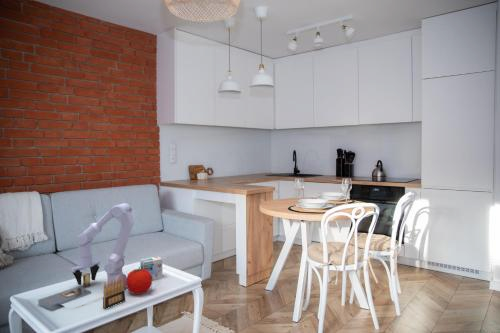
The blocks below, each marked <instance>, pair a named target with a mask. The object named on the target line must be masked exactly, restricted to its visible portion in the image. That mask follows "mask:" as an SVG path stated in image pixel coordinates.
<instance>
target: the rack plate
mask: <svg viewBox="0 0 500 333" xmlns="http://www.w3.org/2000/svg"><path fill="white" fill-rule="evenodd" d="M91 294H92V290H88V289H86V288H85V289H84V288H81V287H78V286H76V287H73V288H70V289H65V290H64V291H61V292H57V293H55V294H51V295H49V296H46V297H43V298H39V299H38V300H37V302H38V303H37V304H38V305H37V306H39V305H40V307H42V308H44V309H45V310H49V311H51V312H53V311H56V310H58V309H61V308H64V307H65V305H63V304H66V303H70V302H72V301H74V300H77V299H80V298H83V297H86V296H89V295H91Z"/></svg>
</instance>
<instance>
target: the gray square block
mask: <svg viewBox="0 0 500 333" xmlns="http://www.w3.org/2000/svg"><path fill="white" fill-rule="evenodd" d="M94 286H95V284H94V283H91V282H90V286H88V287H83V284H81V285H78V286H77V287H79V288H82V289H85V290H86V289H88V288H91V287H94Z"/></svg>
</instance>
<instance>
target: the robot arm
mask: <svg viewBox="0 0 500 333" xmlns="http://www.w3.org/2000/svg"><path fill="white" fill-rule="evenodd" d="M133 211H134V209H133V207H132V205H131V204H130V203H129V202H123V203H119V204H115V205H113V206H112V207H111V208H109V209H108V210H107V212H106V213H105V214H104V215H103V216H102V217H101V218H100V219H99V220H98V221H97V222H93V223H92V222H91V223H90V224H89V227H88V228H87V227H86V229H84V230H83V232H82V233H80V234H78V235H77V236H76V239H75V240H76V243H77V244H78V251H79V252H78V256H79V259H78V260H79V265H76V266H74V267H71V268H70V269H71V270H70V271H71V273H72V274H73V276H74V278H75V281H76V283H77V285H78V286H81V285H82V278H83V272H82V271H83V270H85V269H90V280H91V281H96V277H97V273H98V272H99V269H100V264H101V261H100V260H95V261H93V259H92V253H93V252H92V242H93V240H94V238H95V237H97V235H99V234H100V233H101V232H102V231H103V227H104V226H105V225H106V224H107V223H108V222H109V221H112V219H113V218H115V220H117V221H118V222H119V223H120V225H121V226H120V229H119V231H118V235H117V237H116V241H115V244H114V247H113V250H112V253H111V255H110V256H109V258H108V259H107V262H106V263H105V264H104V267H103V268H104V269H103V270H104V271H105V273H106V276H107V280H106V281H108V280H109V282H110V287H111V279H112V280H113V286H114V279H116V282H117V278H118V277H119V280H120V278H121V276H122V278H123V284H124V291H126V290H128V287H127V275H126V274H125V273H124V272H123V268H124V266H125V255H124V254H125V251H126V247H127V244H128V241H129V238H130V236H131V231H132V229H133V226H134V217H133V216H134V215H133ZM81 270H82V271H81Z"/></svg>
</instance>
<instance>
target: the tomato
mask: <svg viewBox="0 0 500 333" xmlns="http://www.w3.org/2000/svg"><path fill="white" fill-rule="evenodd" d="M126 277H127V287H128V289H127V290H128V291H129V292H130V293H131V294H137V295H138V294H144V293H146V292H147V291H148V290H149V289H150V288H151V287H152V284H153V280H152V276H151V274H150V273H149V271H147V270H146V269H141V267H140V266H139V267H138V268H136V269H133V270H132V271H130V272H129V273H127V275H126Z"/></svg>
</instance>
